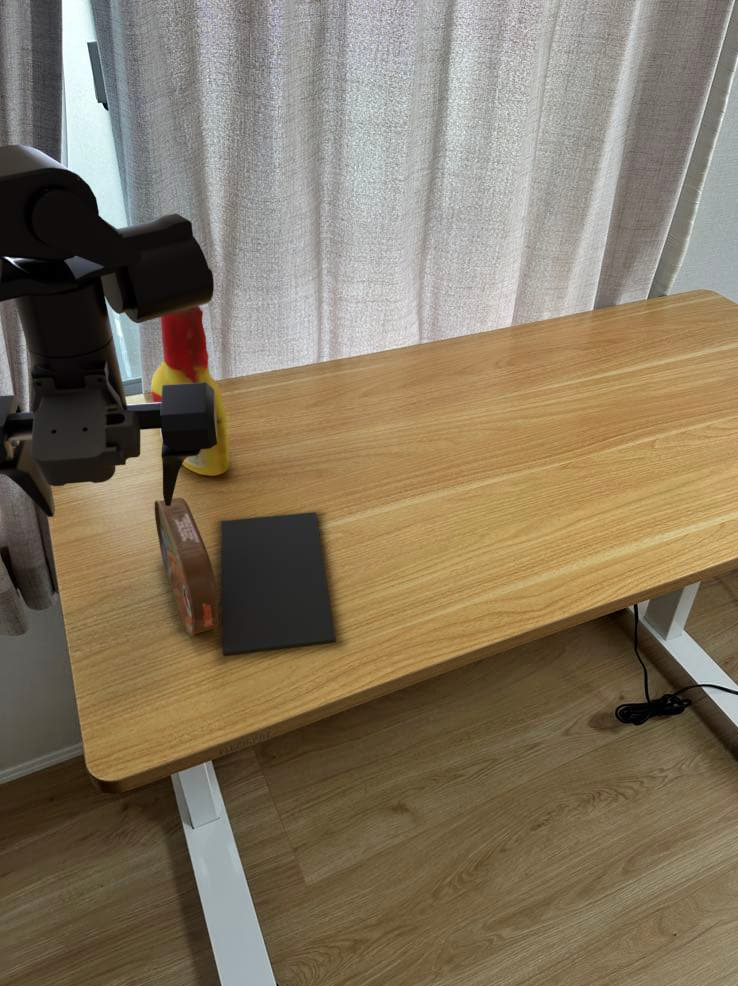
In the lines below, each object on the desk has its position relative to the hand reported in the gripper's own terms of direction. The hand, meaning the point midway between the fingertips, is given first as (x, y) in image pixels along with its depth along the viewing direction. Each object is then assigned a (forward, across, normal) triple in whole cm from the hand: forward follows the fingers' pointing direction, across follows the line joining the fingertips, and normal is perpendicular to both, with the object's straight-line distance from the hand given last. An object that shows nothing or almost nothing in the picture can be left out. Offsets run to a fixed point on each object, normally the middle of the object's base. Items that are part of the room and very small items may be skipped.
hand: (110, 508), depth 67 cm
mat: (+13, +13, +3) cm, 19 cm away
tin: (+13, +5, +2) cm, 14 cm away
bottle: (+13, +5, +24) cm, 28 cm away
